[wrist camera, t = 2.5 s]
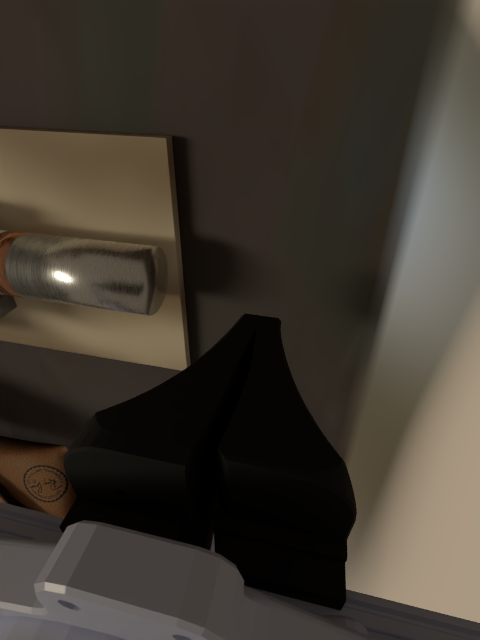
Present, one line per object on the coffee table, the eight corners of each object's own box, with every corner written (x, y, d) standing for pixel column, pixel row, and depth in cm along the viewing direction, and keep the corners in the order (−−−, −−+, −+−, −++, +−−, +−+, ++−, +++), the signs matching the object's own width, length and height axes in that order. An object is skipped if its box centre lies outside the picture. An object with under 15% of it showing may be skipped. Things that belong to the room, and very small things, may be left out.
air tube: (166, 309, 17) (137, 321, 14) (-44, 280, 19) (-108, 286, 16) (169, 246, 16) (140, 245, 13) (-49, 222, 18) (-116, 218, 15)
